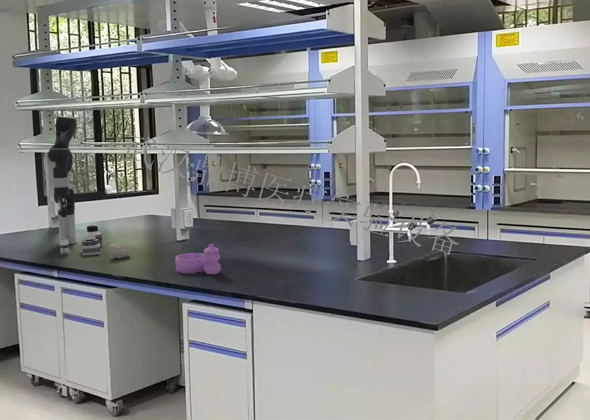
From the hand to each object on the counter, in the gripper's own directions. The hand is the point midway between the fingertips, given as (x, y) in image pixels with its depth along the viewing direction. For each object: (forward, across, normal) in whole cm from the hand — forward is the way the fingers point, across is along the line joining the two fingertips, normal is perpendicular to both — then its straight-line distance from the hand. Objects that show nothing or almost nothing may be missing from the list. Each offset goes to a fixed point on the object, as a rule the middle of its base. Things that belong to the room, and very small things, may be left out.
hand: (63, 216), depth 344 cm
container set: (+22, -81, -51) cm, 98 cm away
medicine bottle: (+20, +17, -16) cm, 31 cm away
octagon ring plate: (+20, -4, -12) cm, 24 cm away
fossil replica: (+21, -27, -24) cm, 42 cm away
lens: (+20, 0, +1) cm, 20 cm away
